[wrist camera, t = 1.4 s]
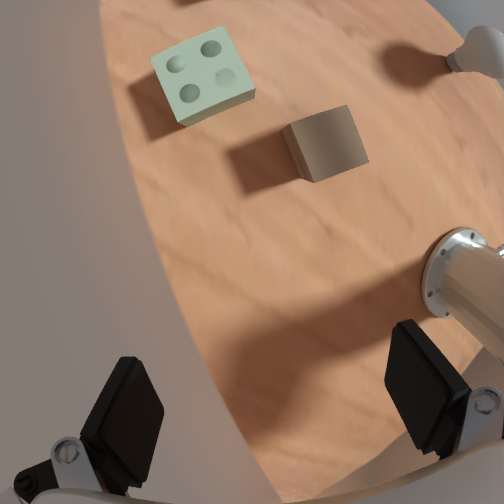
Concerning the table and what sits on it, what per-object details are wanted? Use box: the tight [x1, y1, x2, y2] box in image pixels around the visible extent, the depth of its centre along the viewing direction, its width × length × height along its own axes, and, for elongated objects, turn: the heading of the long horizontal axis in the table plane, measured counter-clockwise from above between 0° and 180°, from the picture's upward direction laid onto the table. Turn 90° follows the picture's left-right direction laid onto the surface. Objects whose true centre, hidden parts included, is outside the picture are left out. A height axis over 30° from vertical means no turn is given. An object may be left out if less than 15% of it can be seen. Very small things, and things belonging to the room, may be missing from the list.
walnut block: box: [281, 105, 369, 183], centre depth 23 cm, size 5×5×6 cm
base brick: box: [150, 25, 256, 127], centre depth 22 cm, size 7×7×4 cm
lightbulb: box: [447, 25, 504, 79], centre depth 17 cm, size 6×6×11 cm
